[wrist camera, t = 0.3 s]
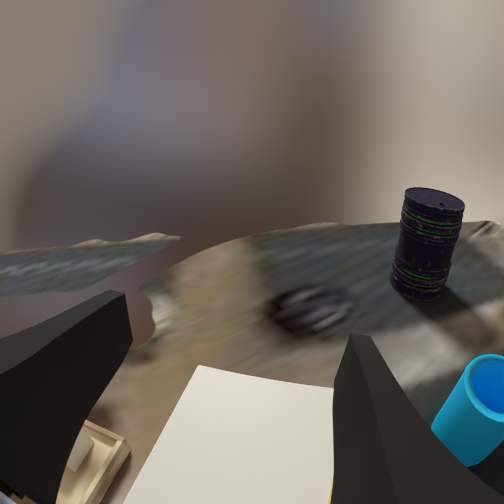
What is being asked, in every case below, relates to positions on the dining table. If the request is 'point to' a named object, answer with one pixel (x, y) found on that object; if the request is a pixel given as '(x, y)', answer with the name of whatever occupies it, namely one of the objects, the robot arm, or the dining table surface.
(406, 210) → the storage jar
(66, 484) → the tan open box
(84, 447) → the off-white square block
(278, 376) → the dining table surface
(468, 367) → the mug
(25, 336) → the robot arm
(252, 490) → the dock
